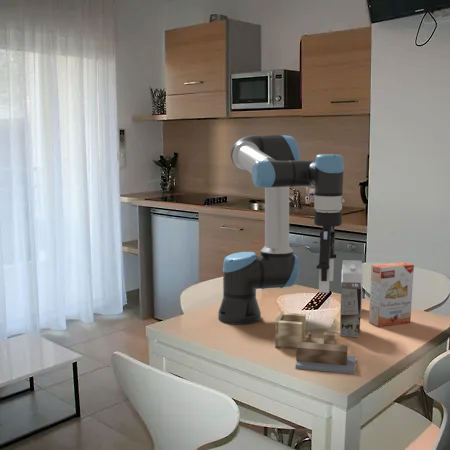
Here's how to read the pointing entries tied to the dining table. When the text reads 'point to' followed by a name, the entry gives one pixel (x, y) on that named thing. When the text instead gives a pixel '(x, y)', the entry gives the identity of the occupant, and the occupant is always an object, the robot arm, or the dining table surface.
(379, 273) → the cracker box
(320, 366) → the mat
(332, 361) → the bar
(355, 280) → the milk carton
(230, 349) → the dining table surface
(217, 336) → the dining table surface
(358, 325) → the coffee box
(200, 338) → the dining table surface
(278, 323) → the holder
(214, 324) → the dining table surface
